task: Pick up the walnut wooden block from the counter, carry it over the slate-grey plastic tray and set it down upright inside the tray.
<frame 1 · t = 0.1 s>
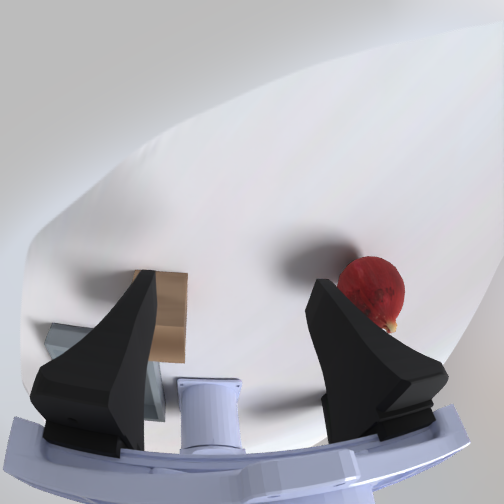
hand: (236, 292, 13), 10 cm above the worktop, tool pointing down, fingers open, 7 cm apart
pomegranate: (353, 264, 27), on the worktop
block: (162, 291, 26), on the worktop
tray: (114, 371, 32), on the worktop
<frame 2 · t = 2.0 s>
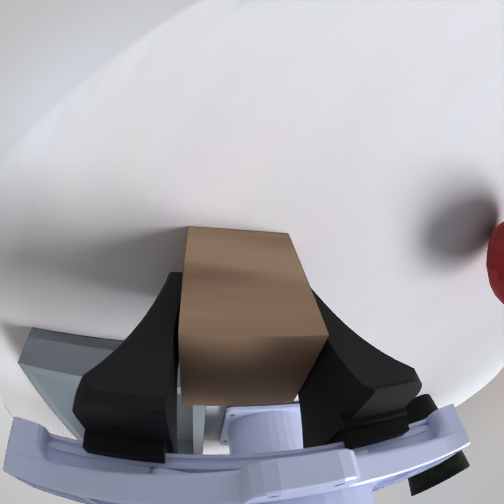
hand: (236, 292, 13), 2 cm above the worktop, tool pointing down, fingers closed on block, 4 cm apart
cup: (410, 404, 31), on the worktop
pomegranate: (490, 230, 16), on the worktop
block: (233, 270, 15), on the worktop, touching gripper
tray: (130, 399, 21), on the worktop
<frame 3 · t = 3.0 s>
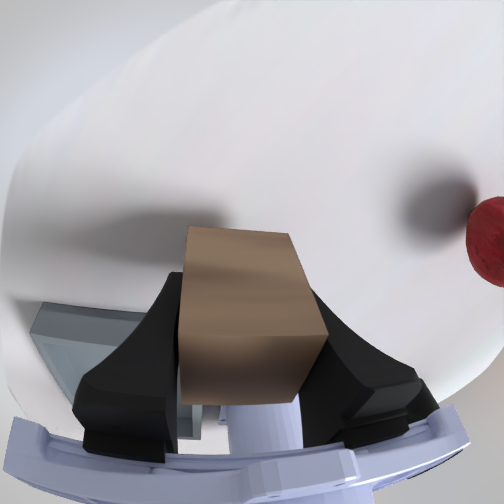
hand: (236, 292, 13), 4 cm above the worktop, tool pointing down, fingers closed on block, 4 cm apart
cup: (404, 389, 33), on the worktop
pomegranate: (470, 212, 18), on the worktop
block: (233, 270, 15), point 2 cm above the worktop, touching gripper
tray: (133, 374, 23), on the worktop
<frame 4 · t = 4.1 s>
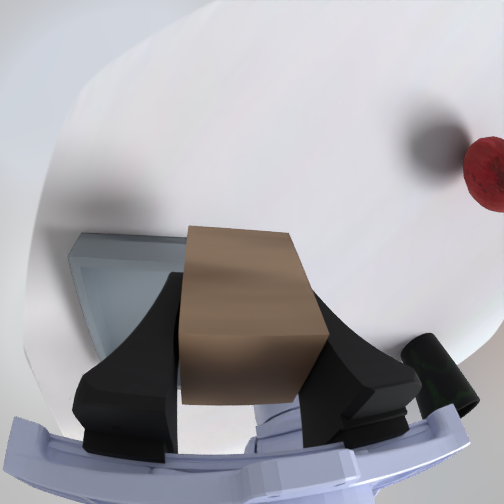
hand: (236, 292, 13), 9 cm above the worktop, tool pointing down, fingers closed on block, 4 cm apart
cup: (417, 345, 35), on the worktop
pomegranate: (465, 155, 20), on the worktop
block: (233, 269, 15), point 7 cm above the worktop, touching gripper
tray: (161, 314, 25), on the worktop
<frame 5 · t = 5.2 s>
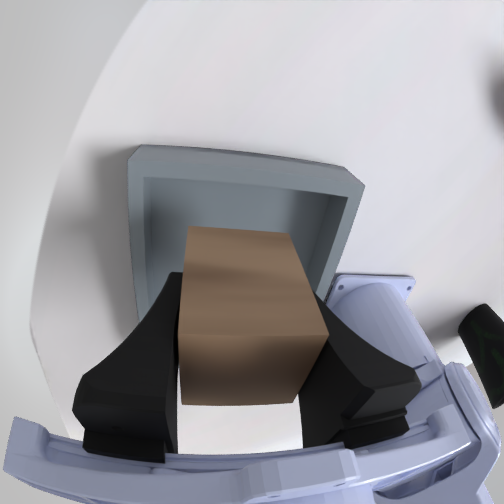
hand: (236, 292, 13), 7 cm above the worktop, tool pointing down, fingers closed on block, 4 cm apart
cup: (472, 318, 30), on the worktop
block: (233, 269, 15), point 5 cm above the worktop, touching gripper
tray: (230, 266, 21), on the worktop
when the fingers open (4 cm above the worktop, at t = 6.1 s): block drops 1 cm, resting on tray.
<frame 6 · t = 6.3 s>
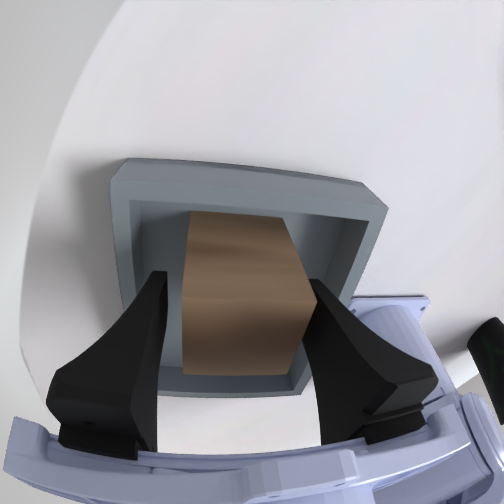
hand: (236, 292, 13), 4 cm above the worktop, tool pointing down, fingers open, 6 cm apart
cup: (482, 332, 28), on the worktop
block: (231, 252, 16), point 1 cm above the worktop, touching tray
tray: (232, 292, 18), on the worktop
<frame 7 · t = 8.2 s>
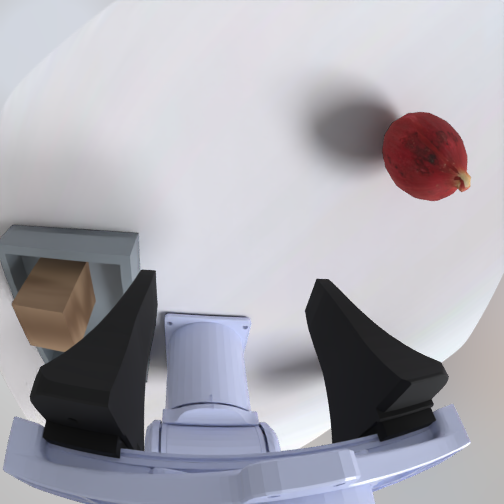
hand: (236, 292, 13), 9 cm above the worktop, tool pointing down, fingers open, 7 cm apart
pomegranate: (395, 139, 20), on the worktop
block: (68, 278, 22), point 1 cm above the worktop, touching tray
tray: (83, 302, 25), on the worktop
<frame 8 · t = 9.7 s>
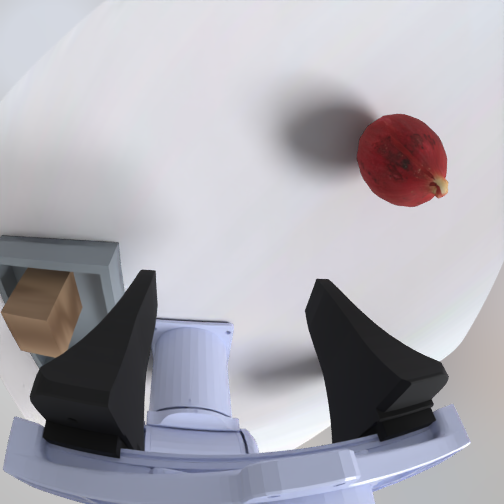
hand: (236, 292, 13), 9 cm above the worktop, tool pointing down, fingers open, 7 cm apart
pomegranate: (374, 142, 20), on the worktop
block: (56, 286, 22), point 1 cm above the worktop, touching tray
tray: (71, 308, 25), on the worktop
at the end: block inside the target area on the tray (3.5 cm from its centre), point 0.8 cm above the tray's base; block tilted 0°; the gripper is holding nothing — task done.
